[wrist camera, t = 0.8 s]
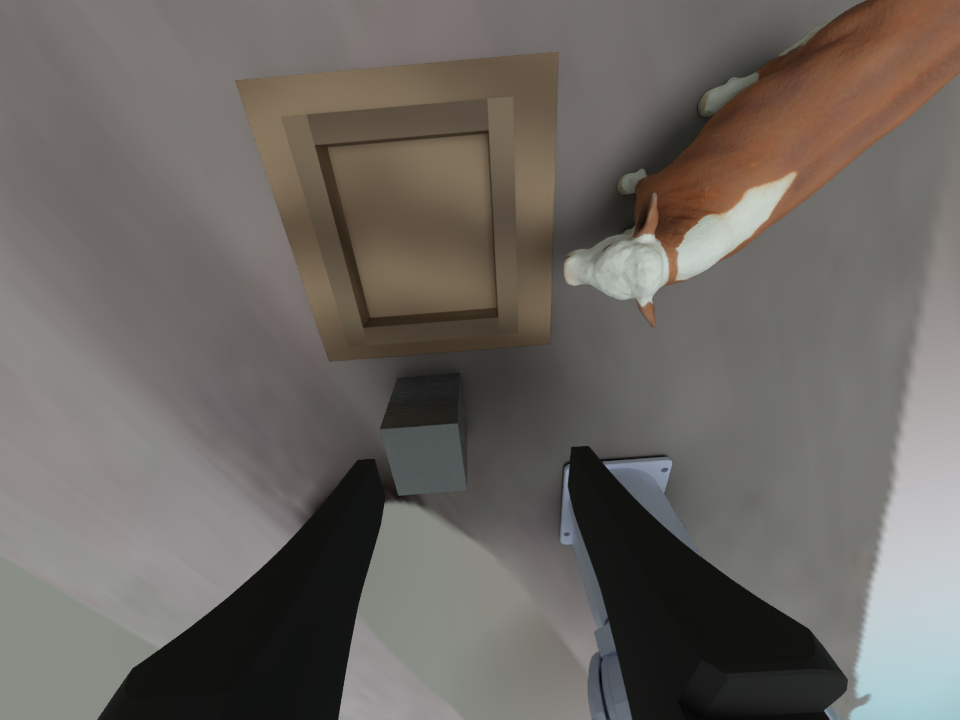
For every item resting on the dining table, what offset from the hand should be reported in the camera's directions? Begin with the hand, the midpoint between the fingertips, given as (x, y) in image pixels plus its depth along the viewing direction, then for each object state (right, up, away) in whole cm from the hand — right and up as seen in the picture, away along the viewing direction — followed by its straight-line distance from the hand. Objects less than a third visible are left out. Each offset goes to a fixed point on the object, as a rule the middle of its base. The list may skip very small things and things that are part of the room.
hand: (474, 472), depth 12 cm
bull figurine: (+9, +13, +4) cm, 17 cm away
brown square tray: (-3, +11, +5) cm, 12 cm away
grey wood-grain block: (-3, +1, +10) cm, 11 cm away
